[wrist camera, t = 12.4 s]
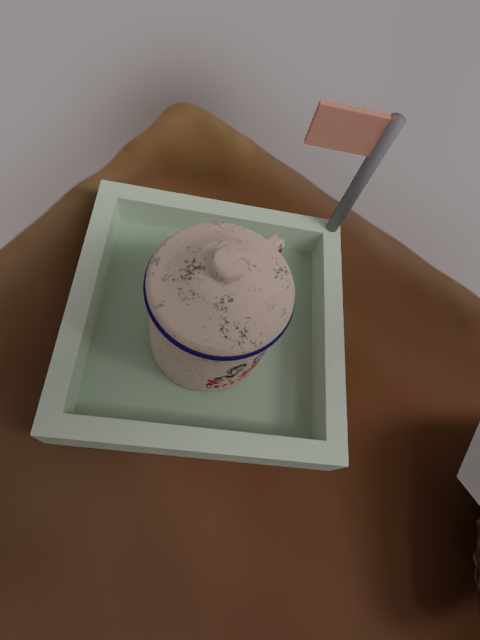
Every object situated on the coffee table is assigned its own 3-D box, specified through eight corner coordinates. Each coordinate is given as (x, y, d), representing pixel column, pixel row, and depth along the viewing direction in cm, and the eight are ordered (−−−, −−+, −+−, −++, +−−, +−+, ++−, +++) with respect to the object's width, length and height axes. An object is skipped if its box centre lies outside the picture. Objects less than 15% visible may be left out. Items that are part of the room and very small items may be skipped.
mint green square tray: (325, 244, 39) (408, 112, 26) (329, 470, 31) (455, 443, 18) (106, 207, 36) (76, 40, 23) (44, 443, 28) (-56, 386, 15)
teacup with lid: (214, 422, 30) (244, 377, 19) (120, 343, 31) (101, 259, 21) (305, 311, 35) (367, 227, 24) (221, 246, 36) (247, 140, 26)
